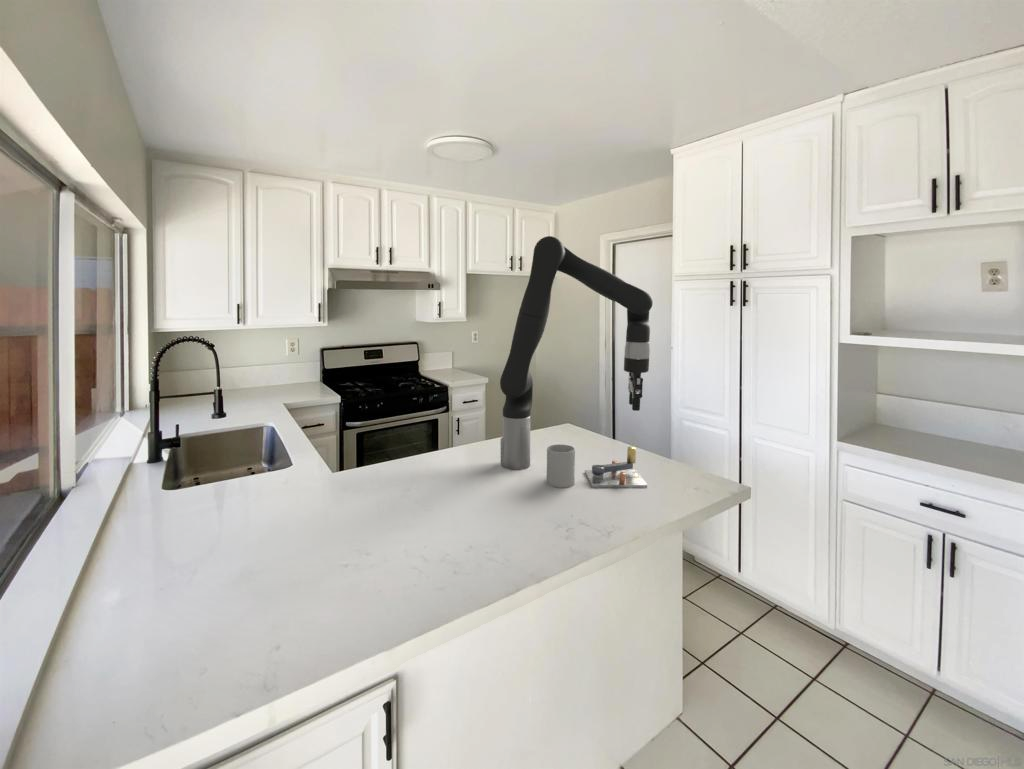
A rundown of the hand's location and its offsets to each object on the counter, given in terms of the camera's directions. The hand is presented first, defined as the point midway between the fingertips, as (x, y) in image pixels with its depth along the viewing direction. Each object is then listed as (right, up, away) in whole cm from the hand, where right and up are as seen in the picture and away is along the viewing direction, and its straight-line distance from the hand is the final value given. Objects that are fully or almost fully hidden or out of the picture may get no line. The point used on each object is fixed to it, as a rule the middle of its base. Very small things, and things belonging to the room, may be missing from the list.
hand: (634, 407), depth 154 cm
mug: (-24, -23, -3) cm, 33 cm away
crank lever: (-7, -20, -1) cm, 21 cm away
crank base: (-7, -22, -3) cm, 23 cm away
